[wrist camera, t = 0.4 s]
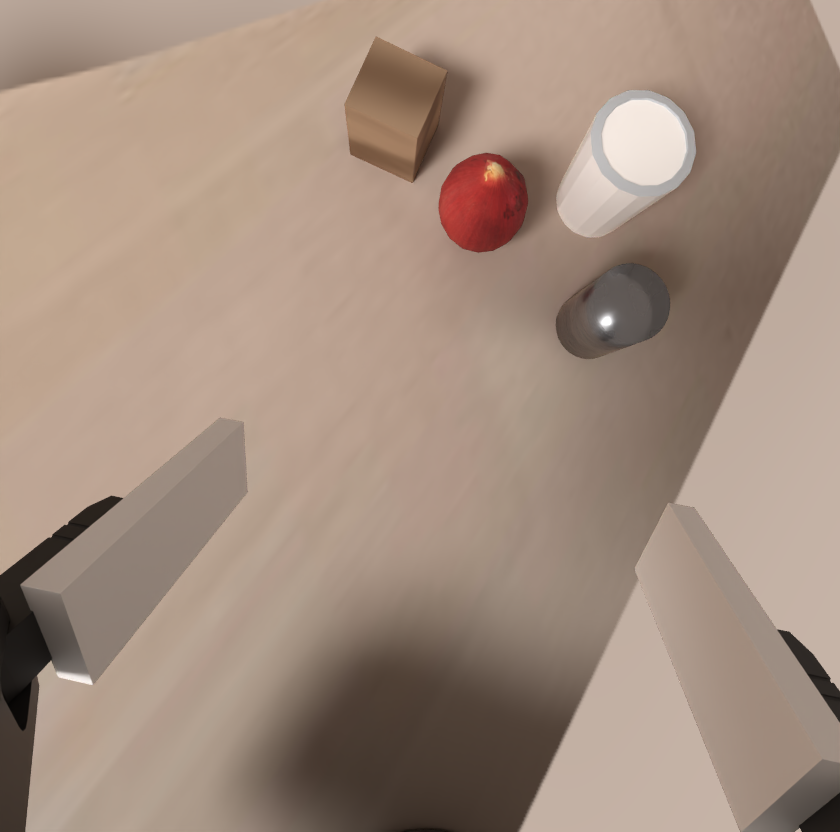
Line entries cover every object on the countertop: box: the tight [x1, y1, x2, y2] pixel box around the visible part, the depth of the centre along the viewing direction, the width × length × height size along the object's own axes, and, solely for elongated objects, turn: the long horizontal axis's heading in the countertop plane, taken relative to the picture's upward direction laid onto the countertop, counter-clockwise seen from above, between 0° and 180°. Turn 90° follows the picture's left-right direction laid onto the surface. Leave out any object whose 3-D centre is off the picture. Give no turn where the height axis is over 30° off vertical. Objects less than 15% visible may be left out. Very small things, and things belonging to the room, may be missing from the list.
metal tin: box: [556, 263, 670, 359], centre depth 30 cm, size 5×5×6 cm
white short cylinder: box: [556, 90, 696, 238], centre depth 30 cm, size 7×7×7 cm
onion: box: [439, 153, 528, 253], centre depth 29 cm, size 6×6×8 cm
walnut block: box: [345, 37, 447, 183], centre depth 30 cm, size 5×5×5 cm
